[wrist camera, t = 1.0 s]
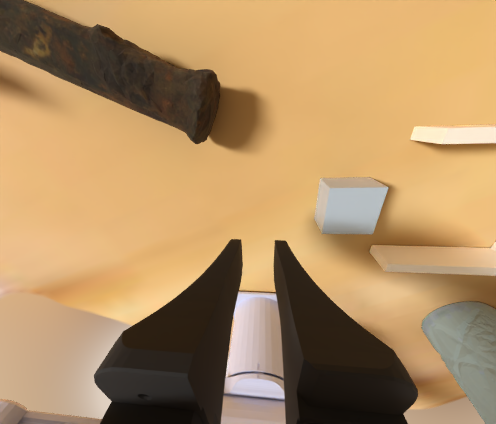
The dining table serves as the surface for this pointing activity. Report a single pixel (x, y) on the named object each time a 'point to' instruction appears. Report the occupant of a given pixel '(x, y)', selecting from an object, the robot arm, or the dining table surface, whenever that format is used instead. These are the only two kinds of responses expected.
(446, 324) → the green embossed cup
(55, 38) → the dark brown elongated piece
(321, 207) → the frosted grey cube
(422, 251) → the cream u-shaped frame
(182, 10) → the dining table surface
